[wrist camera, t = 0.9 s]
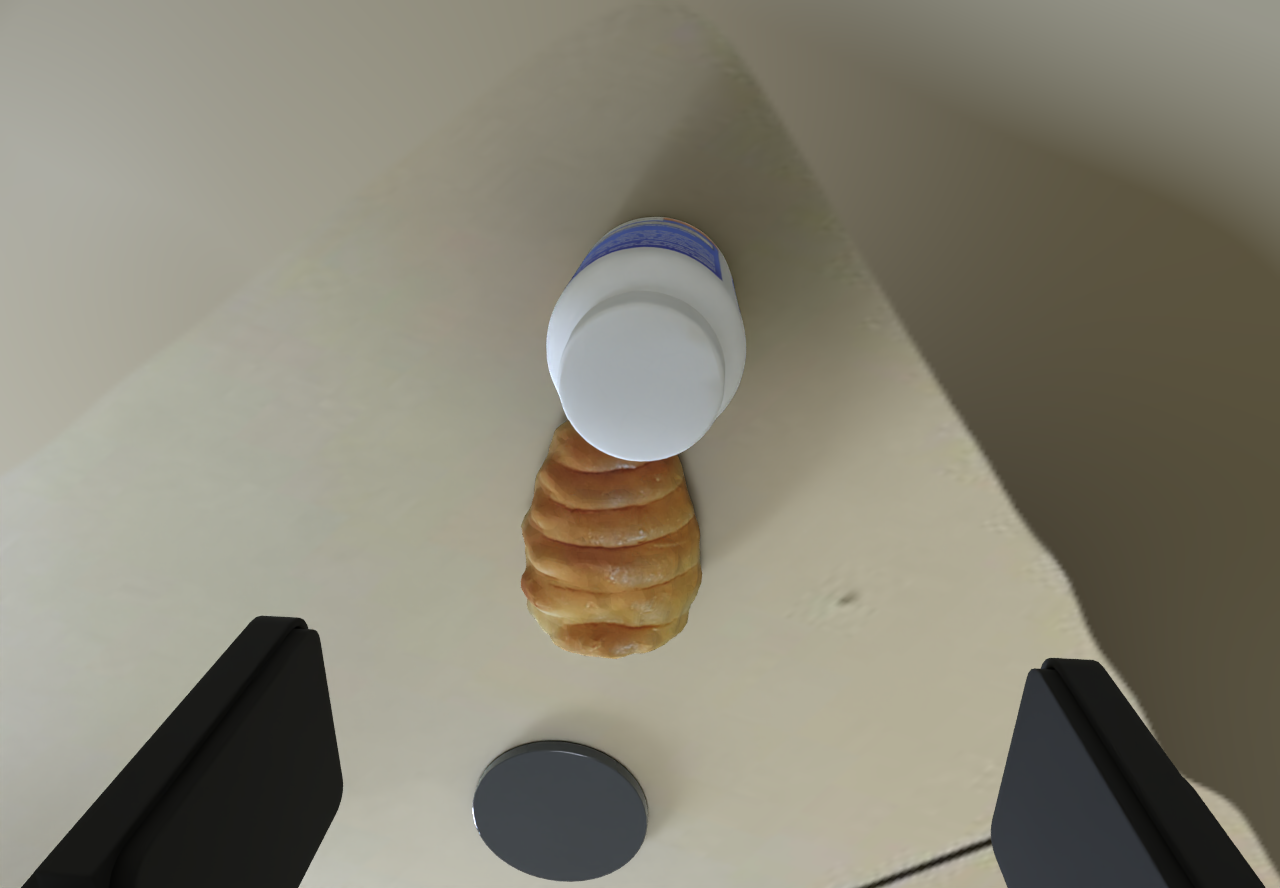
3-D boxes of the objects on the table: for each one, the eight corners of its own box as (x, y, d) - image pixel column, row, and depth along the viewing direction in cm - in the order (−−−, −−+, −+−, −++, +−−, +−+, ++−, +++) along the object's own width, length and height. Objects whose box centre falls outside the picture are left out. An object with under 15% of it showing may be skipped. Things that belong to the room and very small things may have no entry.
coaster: (471, 734, 36) (467, 744, 36) (651, 747, 36) (650, 757, 35) (479, 864, 39) (476, 874, 39) (645, 877, 39) (644, 889, 38)
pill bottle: (548, 269, 28) (476, 348, 19) (683, 181, 27) (673, 223, 18) (633, 397, 30) (604, 526, 21) (765, 320, 28) (794, 423, 19)
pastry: (523, 390, 30) (500, 429, 26) (708, 396, 29) (710, 436, 26) (533, 608, 33) (514, 667, 30) (698, 615, 33) (699, 675, 30)
